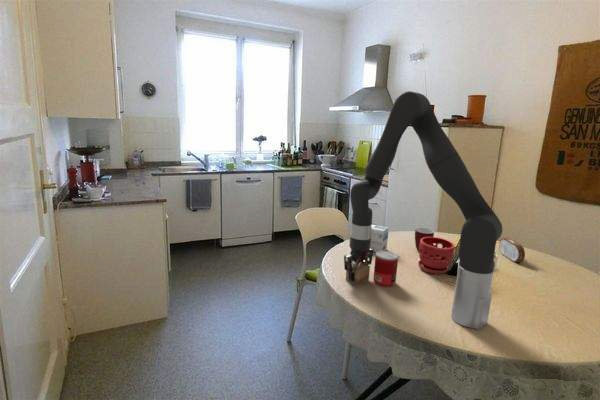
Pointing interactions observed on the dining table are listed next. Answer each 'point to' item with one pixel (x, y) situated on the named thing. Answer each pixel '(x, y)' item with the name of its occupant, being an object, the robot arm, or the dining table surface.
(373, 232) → the light bulb box
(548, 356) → the dining table surface
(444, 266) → the plant pot
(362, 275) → the walnut block
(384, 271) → the canned food
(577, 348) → the dining table surface
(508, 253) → the tin
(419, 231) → the mug
